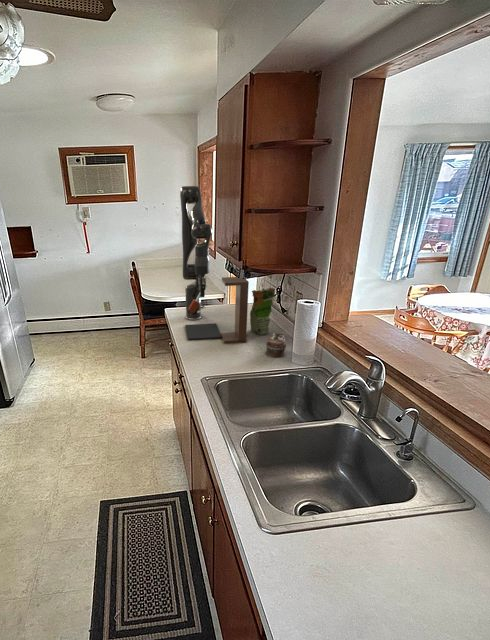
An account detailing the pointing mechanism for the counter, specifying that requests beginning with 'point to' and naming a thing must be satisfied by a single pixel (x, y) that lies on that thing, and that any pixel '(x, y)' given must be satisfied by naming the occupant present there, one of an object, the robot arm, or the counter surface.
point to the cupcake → (276, 345)
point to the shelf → (238, 310)
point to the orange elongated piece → (195, 303)
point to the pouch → (261, 310)
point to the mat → (202, 331)
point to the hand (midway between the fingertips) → (202, 296)
